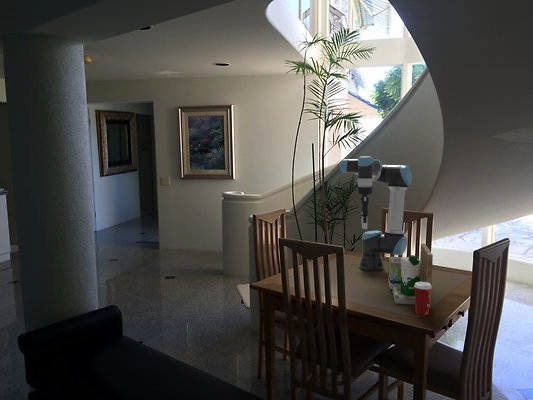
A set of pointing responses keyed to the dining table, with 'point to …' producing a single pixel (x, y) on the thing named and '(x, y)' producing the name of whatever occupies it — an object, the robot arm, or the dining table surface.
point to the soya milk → (410, 274)
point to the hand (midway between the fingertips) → (364, 226)
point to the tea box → (395, 272)
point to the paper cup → (422, 297)
